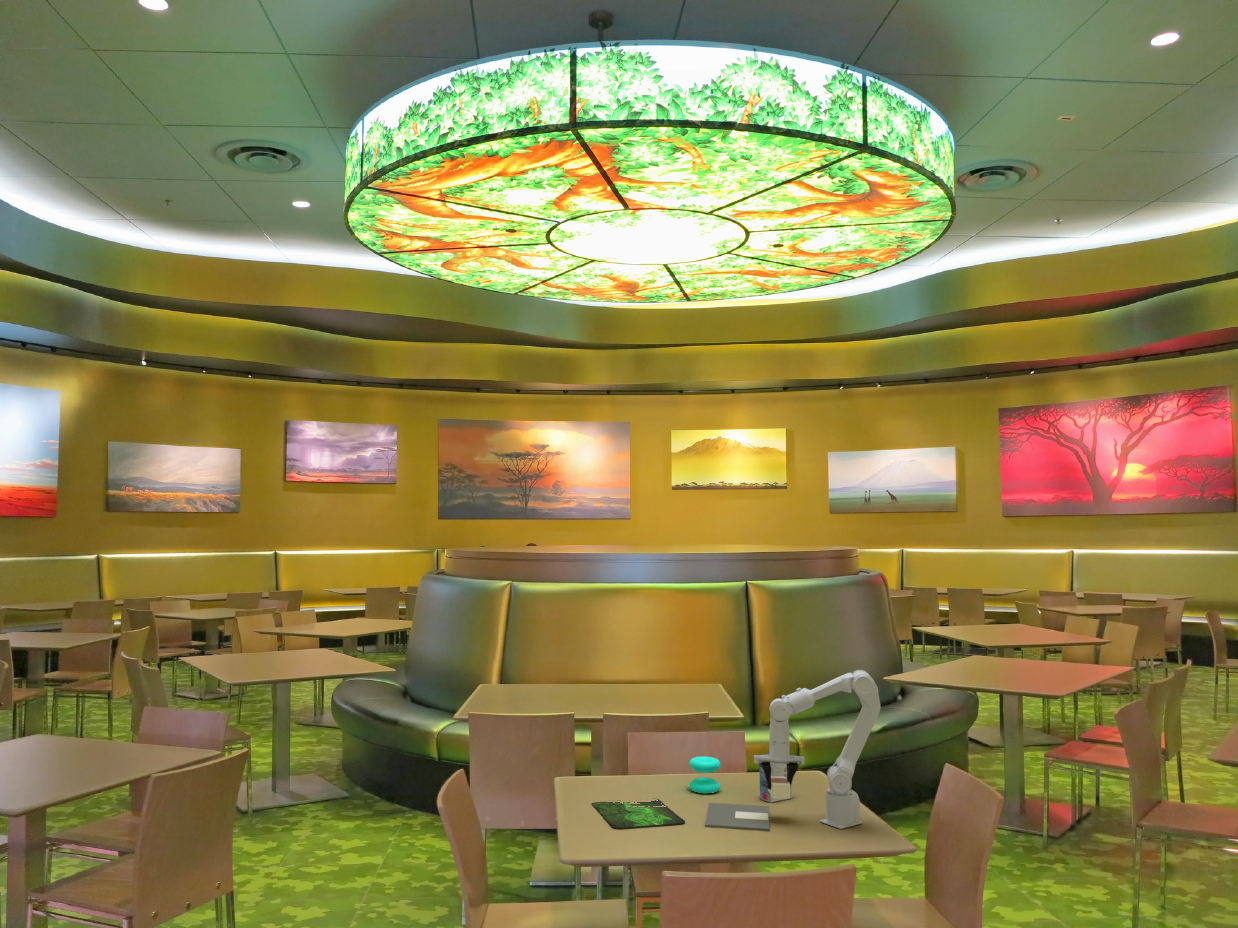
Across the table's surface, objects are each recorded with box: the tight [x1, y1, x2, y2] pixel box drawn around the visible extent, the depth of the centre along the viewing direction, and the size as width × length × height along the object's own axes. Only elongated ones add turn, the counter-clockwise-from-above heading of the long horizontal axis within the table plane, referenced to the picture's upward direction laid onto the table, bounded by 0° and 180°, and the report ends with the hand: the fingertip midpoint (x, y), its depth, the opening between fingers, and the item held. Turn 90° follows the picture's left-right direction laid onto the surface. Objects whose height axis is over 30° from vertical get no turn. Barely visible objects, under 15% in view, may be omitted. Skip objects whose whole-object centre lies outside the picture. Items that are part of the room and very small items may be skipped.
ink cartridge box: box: [758, 751, 793, 803], centre depth 288 cm, size 10×6×14 cm, turn 124°
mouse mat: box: [590, 798, 686, 830], centre depth 270 cm, size 27×22×1 cm
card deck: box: [768, 776, 791, 800], centre depth 267 cm, size 5×8×4 cm, turn 0°
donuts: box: [688, 756, 721, 794], centre depth 296 cm, size 10×10×10 cm
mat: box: [704, 802, 770, 832], centre depth 268 cm, size 18×22×1 cm
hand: (778, 788), depth 267 cm, fingers closed on card deck, 5 cm apart
